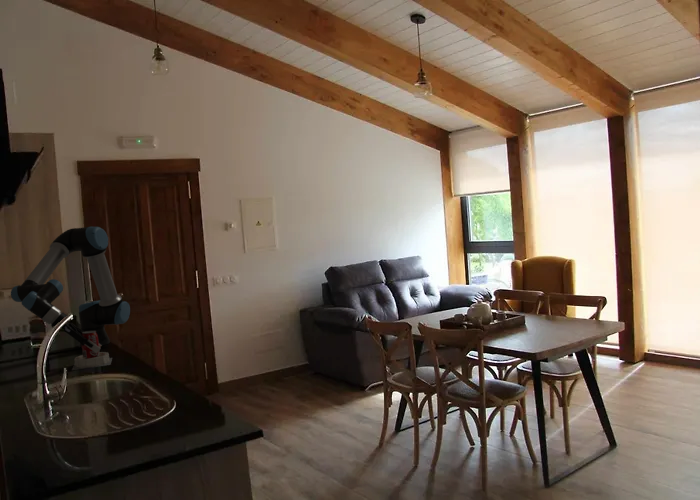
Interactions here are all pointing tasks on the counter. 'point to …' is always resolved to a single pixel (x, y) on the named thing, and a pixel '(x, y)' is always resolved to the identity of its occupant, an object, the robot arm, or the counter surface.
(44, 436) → the counter surface
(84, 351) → the soda can
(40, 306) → the robot arm
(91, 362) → the bowl
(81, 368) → the mat
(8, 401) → the counter surface
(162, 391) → the counter surface
